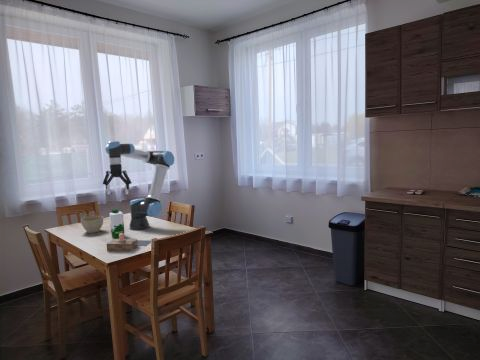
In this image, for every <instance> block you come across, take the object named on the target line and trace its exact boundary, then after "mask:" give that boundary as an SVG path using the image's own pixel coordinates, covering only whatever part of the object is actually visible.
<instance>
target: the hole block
mask: <svg viewBox="0 0 480 360" xmlns="http://www.w3.org/2000/svg"><path fill="white" fill-rule="evenodd" d="M137 240H138V239H136V238H135V239H134V238H124V243H122V242H119V238H117V239H114V238H113V239H112V240H110V241H108V242H107V243H106V250H107V251H106V252H132V251H134V249H136V248H137V247H139V246H138V242H137Z"/></svg>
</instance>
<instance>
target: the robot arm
mask: <svg viewBox="0 0 480 360" xmlns="http://www.w3.org/2000/svg"><path fill="white" fill-rule="evenodd" d="M105 152H106V153H107V154H108V158H109V159H108V160H109V170H106V172H105V173H106V174H105V176H104V177H103V178H104V179H103V181H102V185H104V186H105V190H106V193H107V195H110V194H112V193H111V185H110V183H111V181H113V179H114V178H119V179H120V180H122V182H124V184H125V185H124V188H125V189H124V191H125V195H129V190H130V184H132V181H131V179H130V177H129V176H128V173H127V170H122V169H123V167H122V166H123V165H122V157H125V158H129V159H133V160H139V161H142V162H143V163H147V164H149V165H153V166H155V170H154V175H153V178H152V182H151V185H150V189H149V192H148V195H147V196H146V197H145V198H144V197H141V198H136V199H131V200H130V202H129V208H130V223H129V230H132V231H138V230H139V231H140V230H144V229H147V228H149V227H150V223H149V221H148V218H147V217H150V218H151V217H154V218H155V217H157V216H159V215H160V214H161V212H162V210H163V206H162V205H163V204H162V203H161V200H160V196H161V194H162V189H163V186H164V182H165V179H166V175H167V171H168V170H170V169H171V168H170V167H171V166H173V165H174V163H175V156H174V154H173V152H171V151H170V150H169V151H168V150H152V151H151V150H140V149H136V148H135V146H134V144H133V143H128V142H127V143H121V142H120V141H119V140H116V141H108V143H107V145H106V146H105Z"/></svg>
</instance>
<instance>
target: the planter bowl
mask: <svg viewBox="0 0 480 360" xmlns="http://www.w3.org/2000/svg"><path fill="white" fill-rule="evenodd" d="M80 221H81V226H82V227H83V229H84V230H85V232H86V233H88V234H94V233H98V232H100V231H101V228H102V226H103V225H104V216H102V215H91V216H85V217H82V218H81V219H80Z"/></svg>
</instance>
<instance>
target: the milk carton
mask: <svg viewBox="0 0 480 360" xmlns="http://www.w3.org/2000/svg"><path fill="white" fill-rule="evenodd" d="M111 211H112V212H109V223H110V232H111V233H110V234H111V237H112V238H113V240H114V239H119V234H121V233H124V234H125V224H124V223H125V222H124V212H122V211H119V209H117V208H115V209H112V210H111Z"/></svg>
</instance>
